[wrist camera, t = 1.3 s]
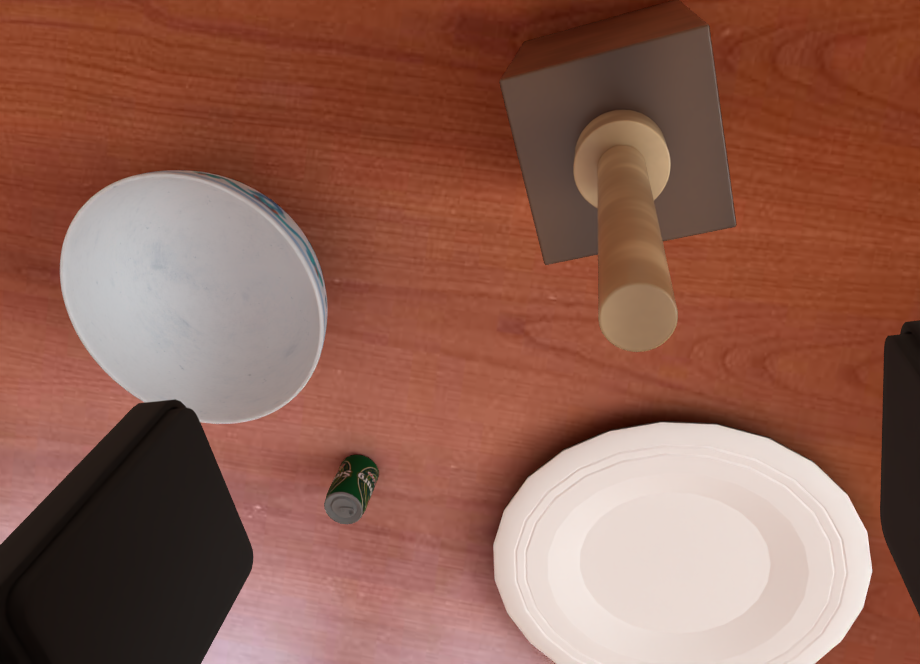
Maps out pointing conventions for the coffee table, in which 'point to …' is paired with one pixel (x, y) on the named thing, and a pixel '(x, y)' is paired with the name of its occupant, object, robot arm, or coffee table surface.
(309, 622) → the coffee table surface
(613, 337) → the stick
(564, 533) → the plate
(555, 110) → the stand
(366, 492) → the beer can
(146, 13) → the coffee table surface
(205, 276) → the chinaware
